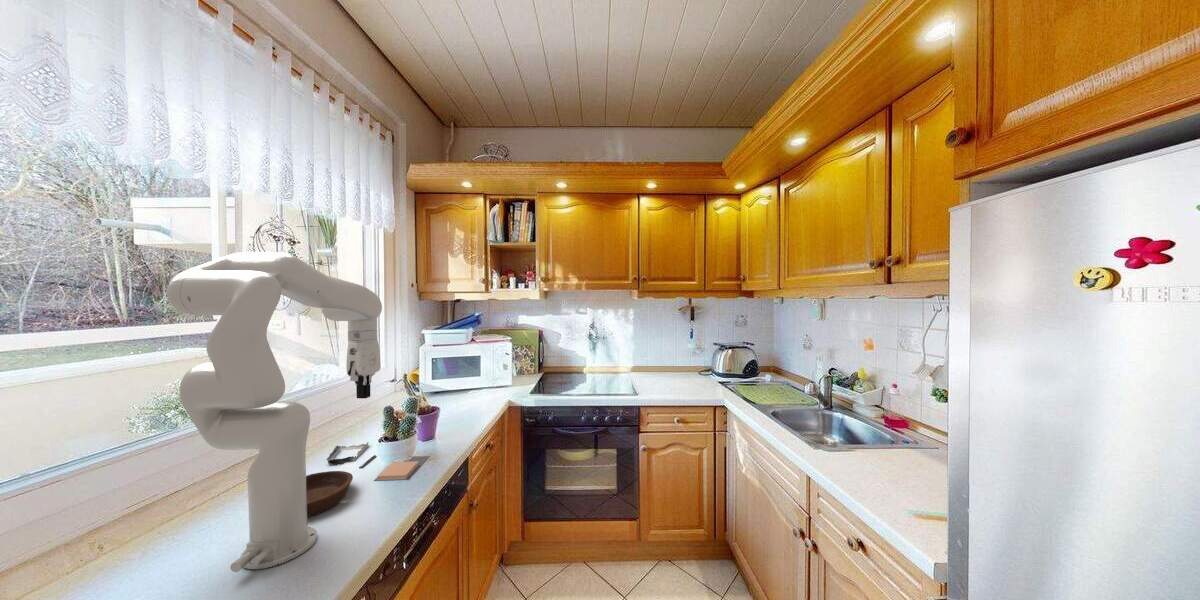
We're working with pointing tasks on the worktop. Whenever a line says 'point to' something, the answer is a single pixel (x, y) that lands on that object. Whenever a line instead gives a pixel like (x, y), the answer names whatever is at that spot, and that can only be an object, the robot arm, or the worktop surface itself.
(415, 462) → the tile
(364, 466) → the dark grey thin rod
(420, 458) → the mat
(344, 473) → the dish
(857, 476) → the worktop surface
